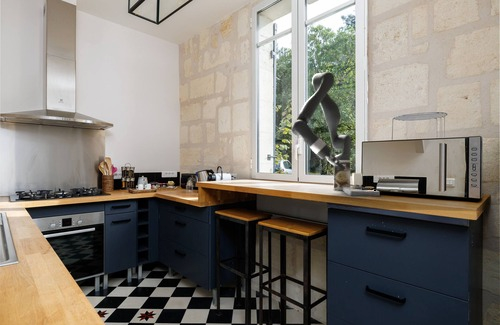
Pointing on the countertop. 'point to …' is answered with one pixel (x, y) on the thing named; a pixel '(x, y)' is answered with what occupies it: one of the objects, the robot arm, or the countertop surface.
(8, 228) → the countertop surface
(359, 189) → the fader console
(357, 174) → the fader knob
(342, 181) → the coffee box
